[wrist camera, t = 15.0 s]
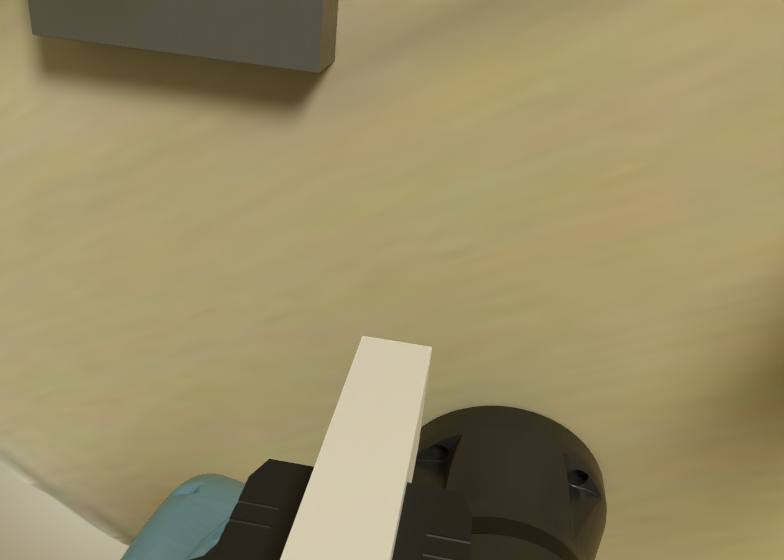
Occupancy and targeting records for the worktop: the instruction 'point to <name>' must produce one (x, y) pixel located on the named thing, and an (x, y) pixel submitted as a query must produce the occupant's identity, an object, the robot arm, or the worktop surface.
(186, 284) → the worktop surface
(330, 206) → the worktop surface
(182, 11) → the socket
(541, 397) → the worktop surface
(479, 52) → the worktop surface
